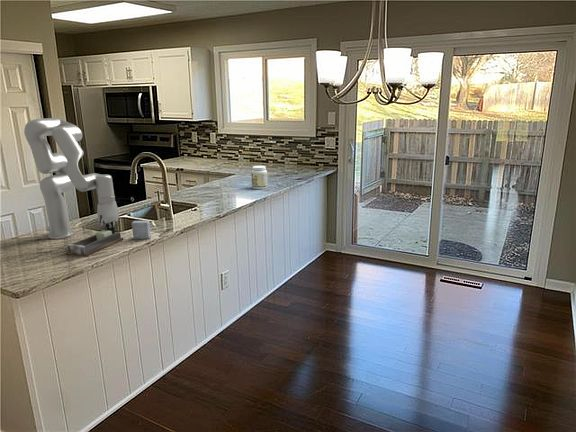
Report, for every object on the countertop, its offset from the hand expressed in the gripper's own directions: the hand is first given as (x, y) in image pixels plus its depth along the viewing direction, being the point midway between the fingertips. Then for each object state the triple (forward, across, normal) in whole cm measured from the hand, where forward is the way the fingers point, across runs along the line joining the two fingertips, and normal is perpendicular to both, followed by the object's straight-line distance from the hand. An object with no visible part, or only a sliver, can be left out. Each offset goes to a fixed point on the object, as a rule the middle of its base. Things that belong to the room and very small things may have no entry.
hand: (111, 234), depth 212 cm
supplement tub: (+3, -136, +23) cm, 138 cm away
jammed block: (+1, +5, 0) cm, 5 cm away
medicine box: (+3, -7, +13) cm, 15 cm away
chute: (+3, +11, 0) cm, 11 cm away
